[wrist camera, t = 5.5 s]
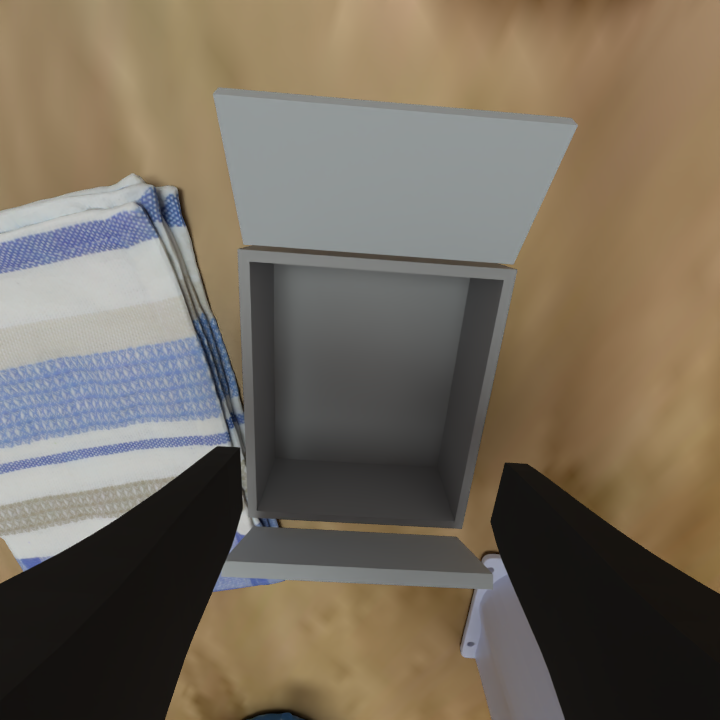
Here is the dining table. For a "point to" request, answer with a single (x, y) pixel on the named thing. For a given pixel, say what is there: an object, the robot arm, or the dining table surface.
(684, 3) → the dining table surface
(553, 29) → the dining table surface
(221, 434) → the dish towel
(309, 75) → the dining table surface
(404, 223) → the near flap
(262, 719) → the snack cup
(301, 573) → the far flap
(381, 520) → the carton
